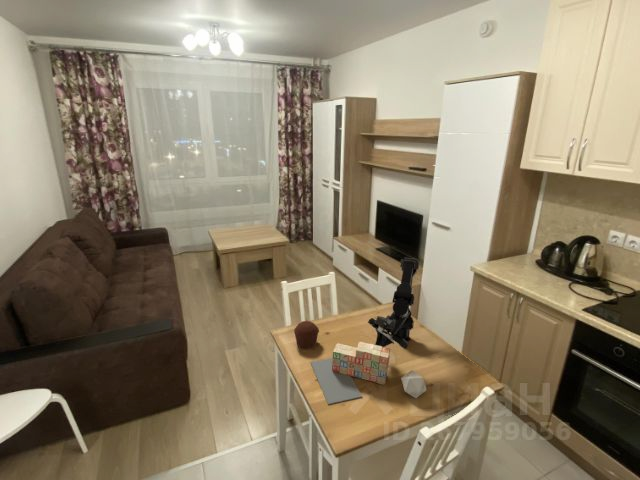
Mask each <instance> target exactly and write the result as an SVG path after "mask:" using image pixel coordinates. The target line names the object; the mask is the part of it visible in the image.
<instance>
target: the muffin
mask: <svg viewBox="0 0 640 480" xmlns="http://www.w3.org/2000/svg"><path fill="white" fill-rule="evenodd" d="M293 331H294V332H293V333H294V337H295V340H296V341H295V342H296V344H297V346H298V347H299V348H301V349H312V348H314V347H315V346H316V344H317V342H318V335H319V333H320V330H319V327H318V326H317V325H316V323H314V322H312V321H309V320H304V321H301V322H299V323H298V324H297V325H296V326H295V328H294V330H293Z"/></svg>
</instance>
